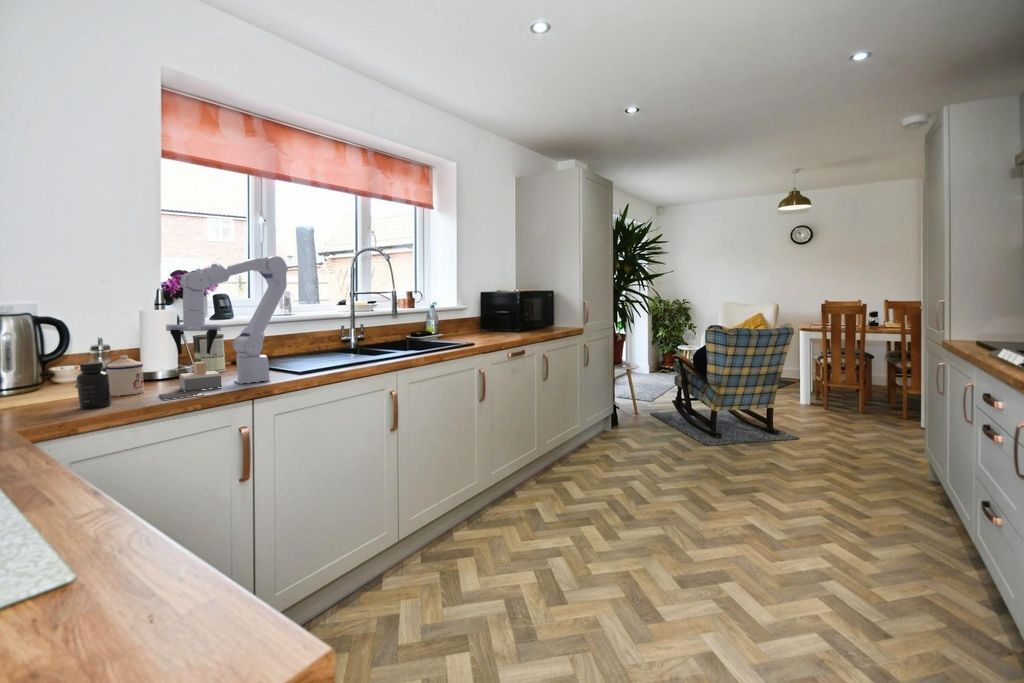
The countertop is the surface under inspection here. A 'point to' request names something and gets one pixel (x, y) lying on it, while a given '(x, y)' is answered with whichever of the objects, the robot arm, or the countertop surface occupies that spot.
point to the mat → (179, 394)
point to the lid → (199, 372)
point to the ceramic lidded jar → (125, 376)
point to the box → (200, 383)
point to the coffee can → (216, 356)
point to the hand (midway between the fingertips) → (194, 353)
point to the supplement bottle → (93, 386)
